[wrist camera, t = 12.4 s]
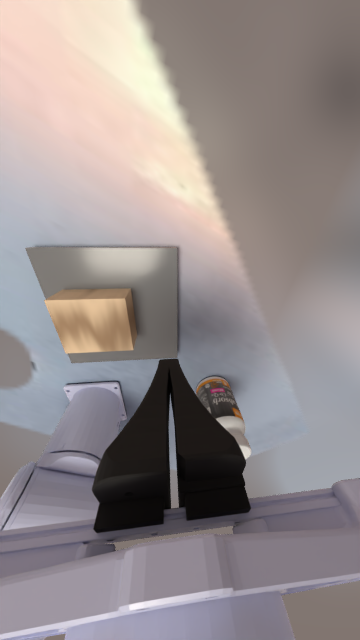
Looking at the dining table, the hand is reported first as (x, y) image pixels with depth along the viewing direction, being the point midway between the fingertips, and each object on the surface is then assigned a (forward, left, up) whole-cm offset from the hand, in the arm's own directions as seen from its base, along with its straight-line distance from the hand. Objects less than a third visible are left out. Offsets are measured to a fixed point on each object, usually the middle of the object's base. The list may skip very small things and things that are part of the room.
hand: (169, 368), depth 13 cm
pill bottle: (-14, -7, -10) cm, 19 cm away
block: (+1, +4, -7) cm, 8 cm away
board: (+1, +6, -10) cm, 11 cm away
